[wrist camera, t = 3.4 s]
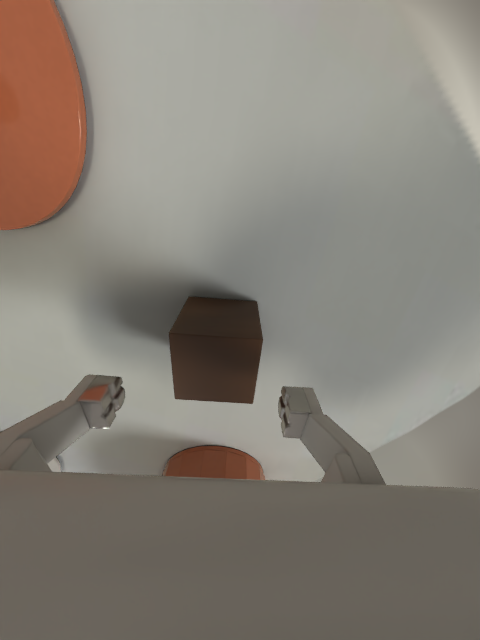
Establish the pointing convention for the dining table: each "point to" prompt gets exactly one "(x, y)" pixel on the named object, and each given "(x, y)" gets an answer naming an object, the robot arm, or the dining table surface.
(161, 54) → the dining table surface
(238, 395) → the block
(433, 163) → the dining table surface
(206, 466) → the bowl
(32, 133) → the bowl lid
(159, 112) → the dining table surface
